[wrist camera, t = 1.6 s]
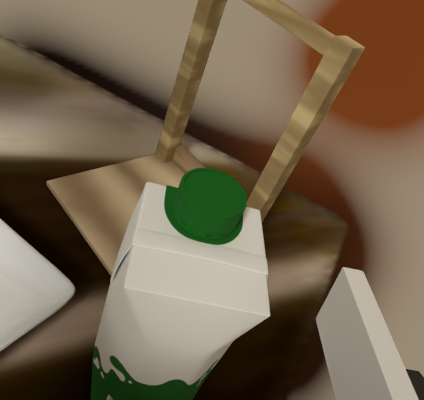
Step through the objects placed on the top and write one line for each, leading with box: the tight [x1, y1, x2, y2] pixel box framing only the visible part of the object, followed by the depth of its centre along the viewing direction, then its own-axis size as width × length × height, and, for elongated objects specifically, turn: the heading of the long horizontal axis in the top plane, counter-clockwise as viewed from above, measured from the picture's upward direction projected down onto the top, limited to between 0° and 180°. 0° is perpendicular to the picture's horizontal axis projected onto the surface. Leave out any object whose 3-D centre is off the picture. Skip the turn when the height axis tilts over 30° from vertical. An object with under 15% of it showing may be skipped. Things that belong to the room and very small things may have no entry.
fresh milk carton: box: [91, 168, 270, 400], centre depth 27 cm, size 9×9×20 cm
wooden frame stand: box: [47, 0, 365, 276], centre depth 39 cm, size 18×18×26 cm
